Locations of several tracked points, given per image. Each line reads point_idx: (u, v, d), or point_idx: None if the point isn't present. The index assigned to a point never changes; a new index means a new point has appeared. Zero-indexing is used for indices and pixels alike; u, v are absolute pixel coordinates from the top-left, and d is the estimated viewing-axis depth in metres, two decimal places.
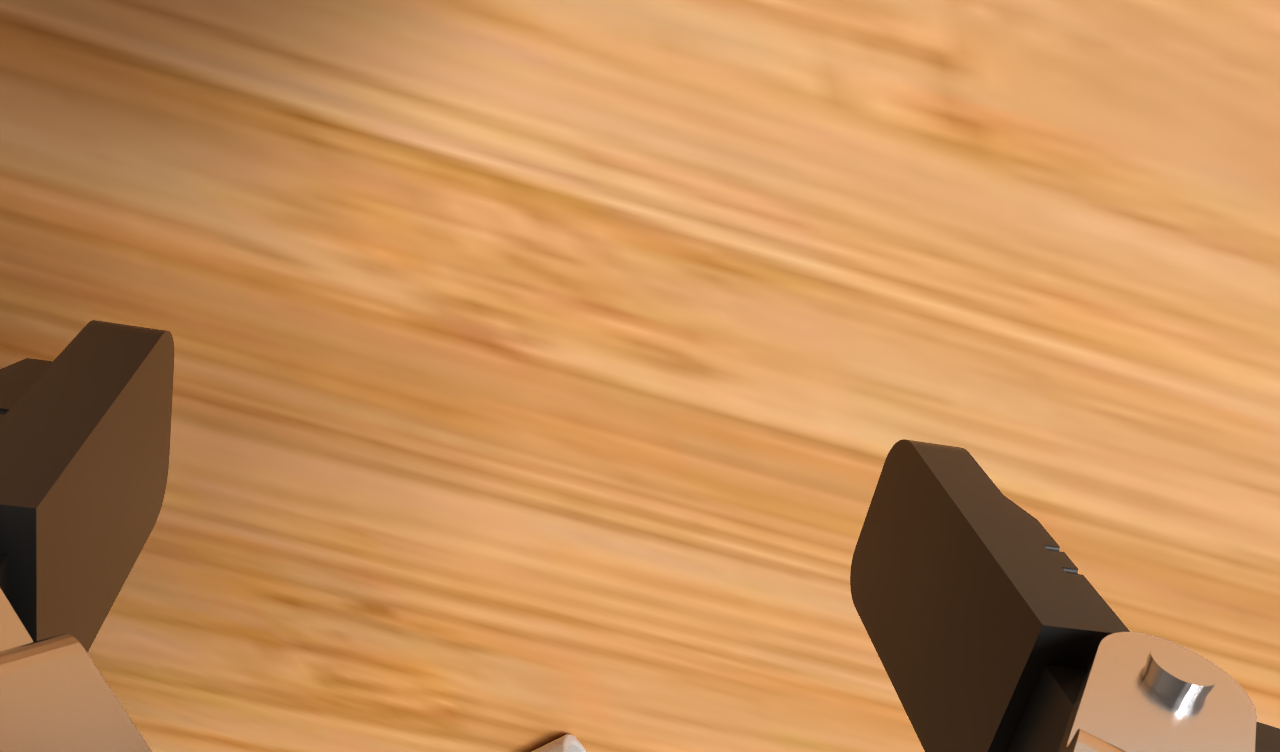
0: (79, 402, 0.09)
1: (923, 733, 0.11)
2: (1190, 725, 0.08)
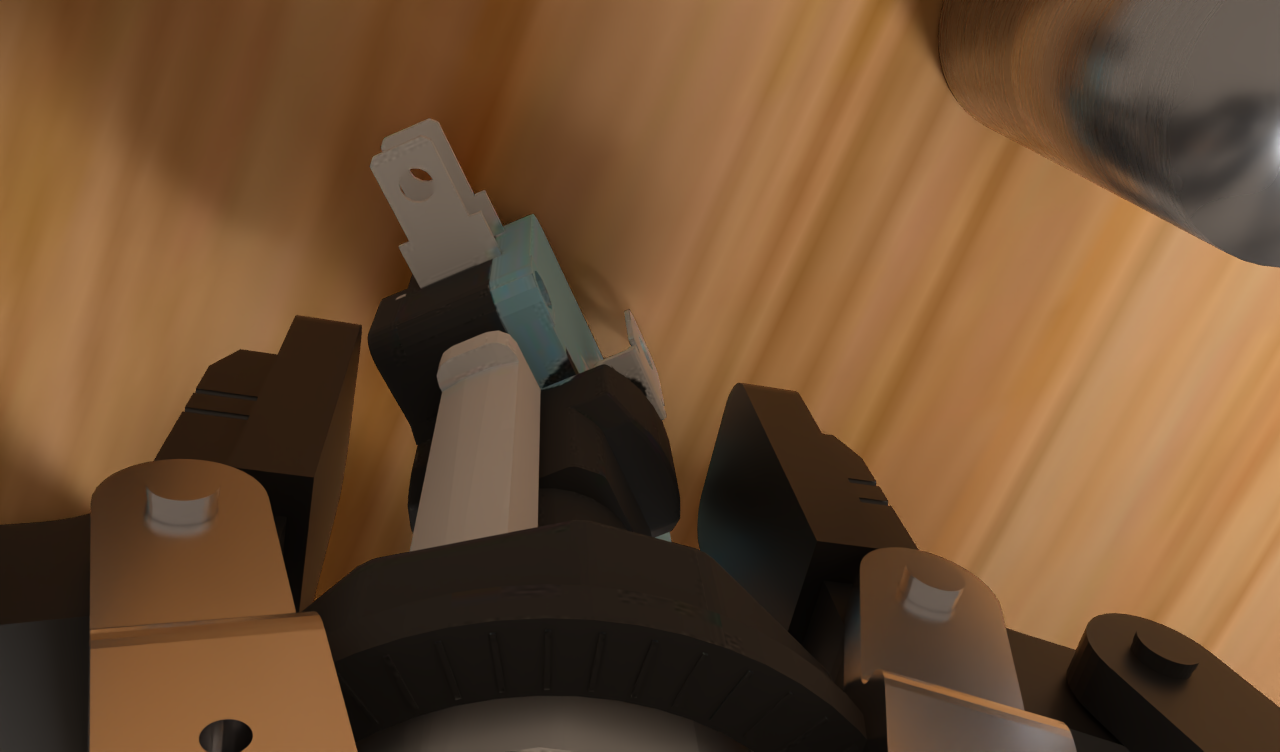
0: (313, 386, 0.10)
1: None
2: (929, 626, 0.09)
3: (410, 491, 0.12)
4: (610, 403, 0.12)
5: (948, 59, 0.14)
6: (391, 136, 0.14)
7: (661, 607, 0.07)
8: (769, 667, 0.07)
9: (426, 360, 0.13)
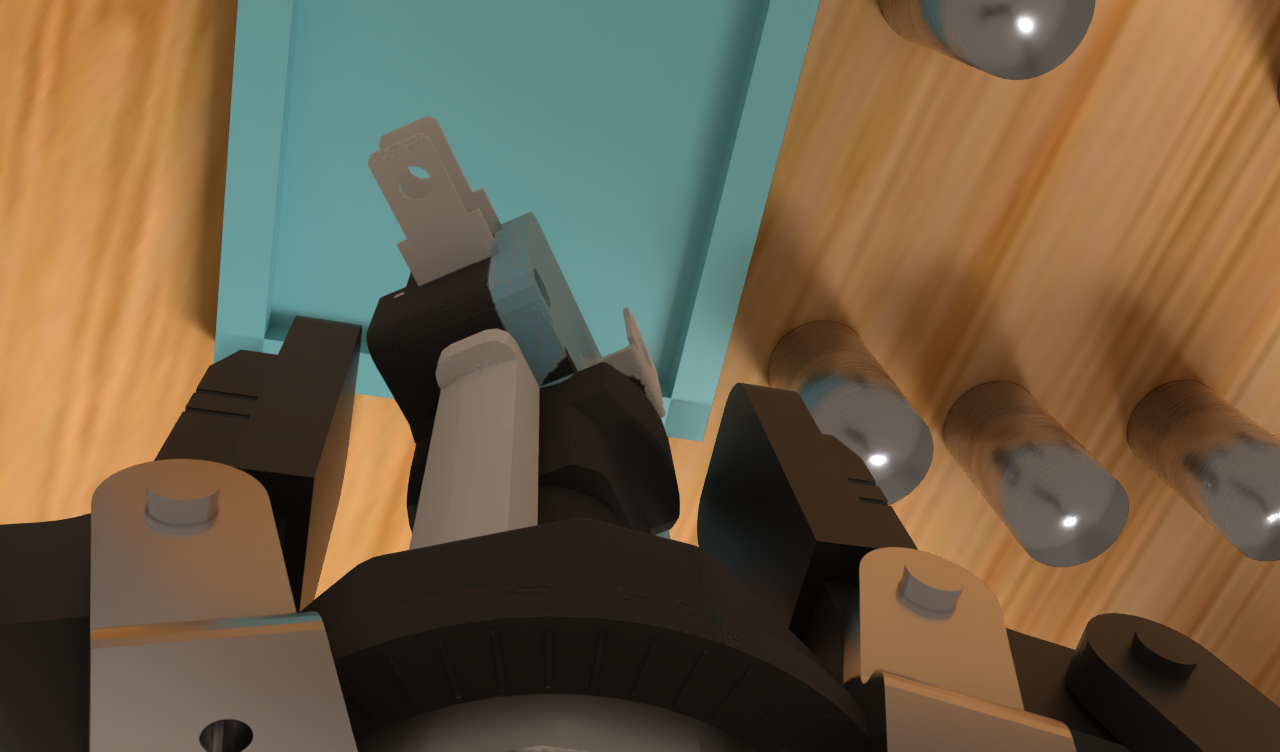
0: (313, 387, 0.10)
1: None
2: (928, 625, 0.09)
3: (409, 489, 0.12)
4: (609, 401, 0.12)
5: None
6: (389, 134, 0.13)
7: (663, 605, 0.07)
8: (771, 664, 0.07)
9: (425, 358, 0.13)
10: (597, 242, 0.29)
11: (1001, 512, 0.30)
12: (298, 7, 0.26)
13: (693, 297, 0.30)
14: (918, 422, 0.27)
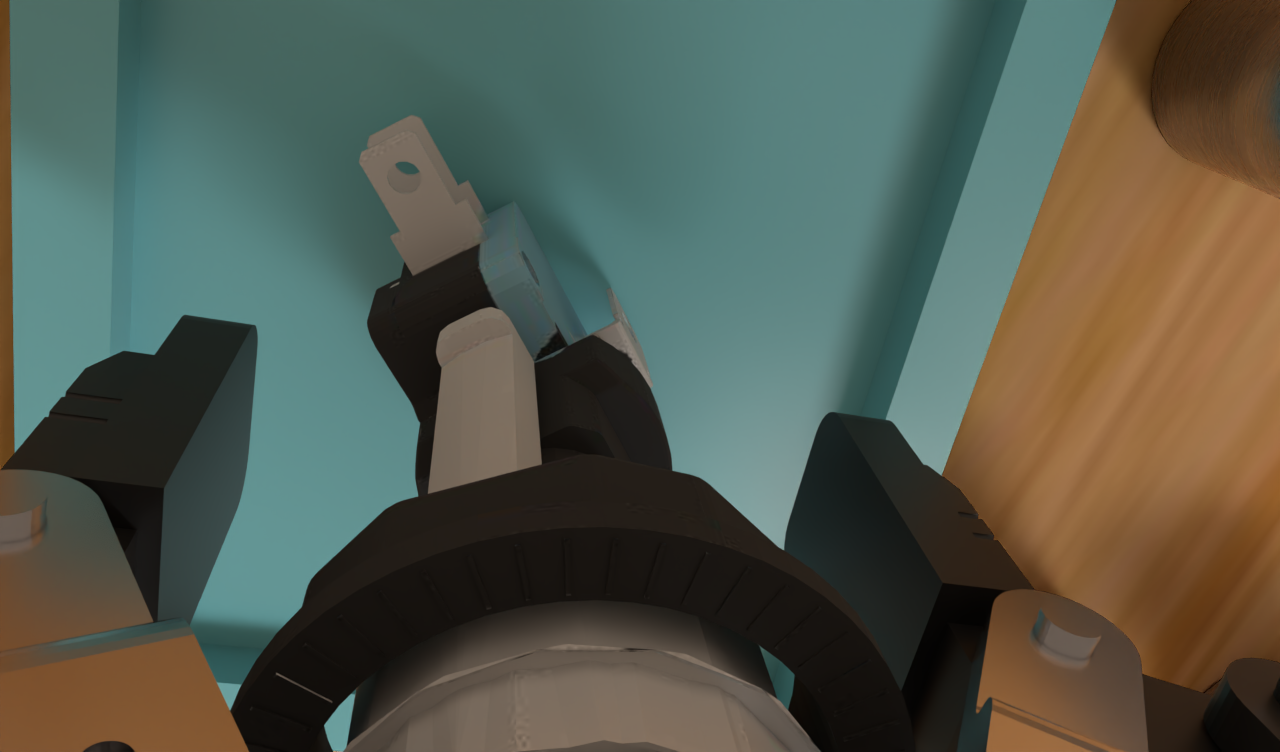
0: (185, 390, 0.10)
1: None
2: (1072, 674, 0.08)
3: (417, 464, 0.13)
4: (600, 369, 0.13)
5: None
6: (376, 134, 0.14)
7: (666, 516, 0.07)
8: (766, 563, 0.08)
9: (424, 341, 0.13)
10: None
11: None
12: (136, 126, 0.14)
13: None
14: None
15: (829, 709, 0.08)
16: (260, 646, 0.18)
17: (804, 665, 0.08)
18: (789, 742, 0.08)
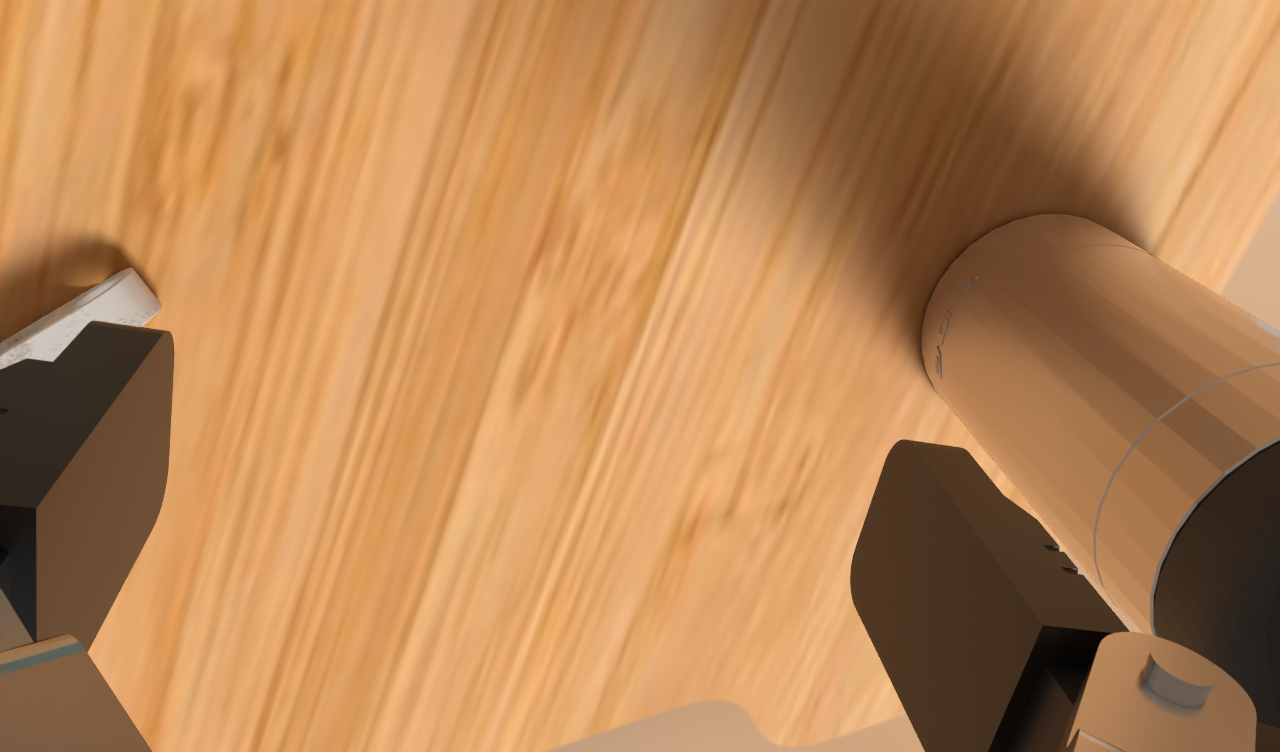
0: (79, 402, 0.09)
1: (923, 733, 0.11)
2: (1191, 725, 0.08)
3: None
4: None
5: None
6: None
7: None
8: None
9: None
10: None
11: None
12: None
13: None
14: None
15: None
16: None
17: None
18: None
